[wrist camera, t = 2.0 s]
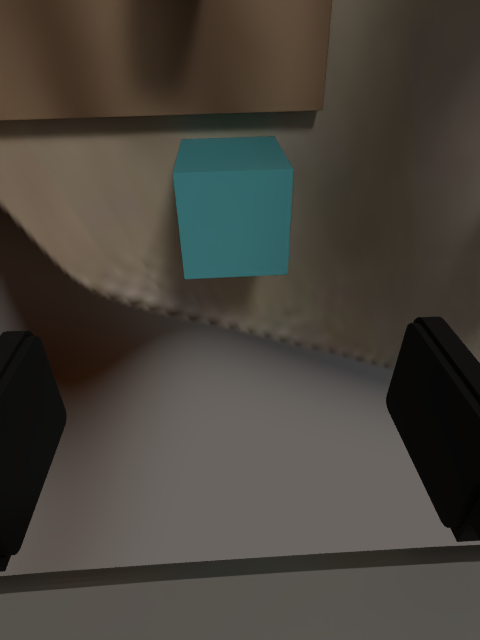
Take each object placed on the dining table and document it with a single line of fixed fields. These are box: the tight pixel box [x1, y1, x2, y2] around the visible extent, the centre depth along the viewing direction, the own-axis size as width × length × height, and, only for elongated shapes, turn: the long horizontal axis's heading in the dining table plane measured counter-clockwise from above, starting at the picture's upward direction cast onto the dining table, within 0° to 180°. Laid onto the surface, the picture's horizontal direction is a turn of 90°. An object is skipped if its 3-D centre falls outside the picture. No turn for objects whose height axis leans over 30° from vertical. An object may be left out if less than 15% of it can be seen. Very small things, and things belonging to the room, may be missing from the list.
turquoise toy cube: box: [173, 136, 293, 279], centre depth 22 cm, size 5×5×7 cm
